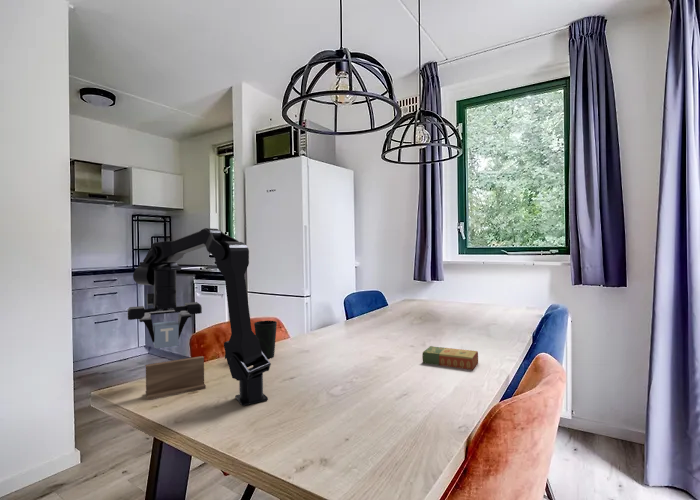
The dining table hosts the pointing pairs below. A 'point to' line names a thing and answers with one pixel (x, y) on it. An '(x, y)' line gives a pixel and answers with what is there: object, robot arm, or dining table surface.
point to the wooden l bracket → (174, 377)
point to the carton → (450, 357)
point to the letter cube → (166, 334)
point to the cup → (266, 336)
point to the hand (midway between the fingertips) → (165, 340)
